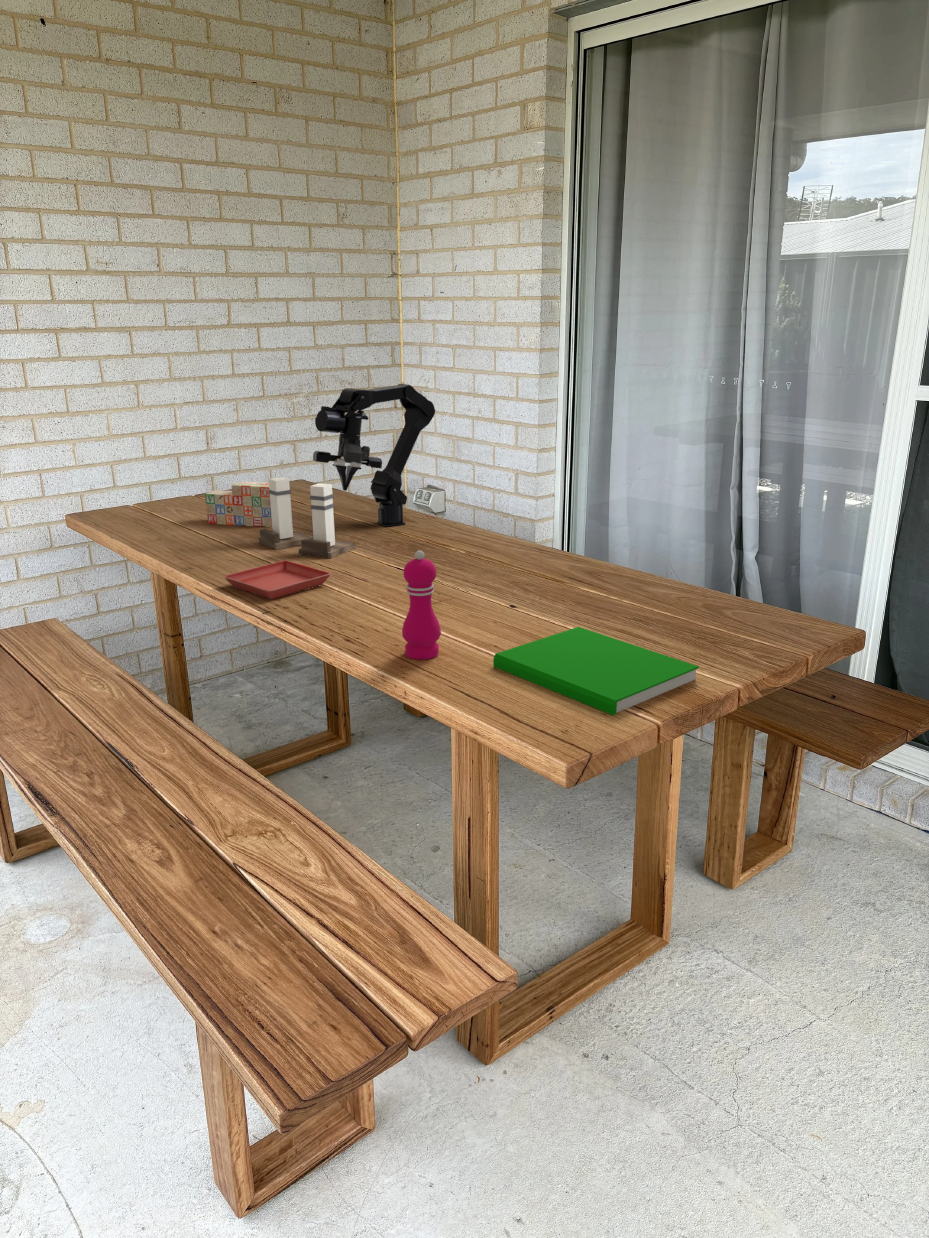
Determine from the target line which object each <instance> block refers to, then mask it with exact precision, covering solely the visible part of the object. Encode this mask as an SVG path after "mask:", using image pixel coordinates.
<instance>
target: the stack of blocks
mask: <svg viewBox="0 0 929 1238" xmlns="http://www.w3.org/2000/svg"><path fill="white" fill-rule="evenodd" d="M204 496H205V497H204V498H205V505H206V514H207V523H208V524H212V525H215V524H216V525H227V526H241V525H246V526H245V527H259V526H266V527H265V528H272V517H271V504H270V494H269V481H268V482H267V481H239V482H236V483H234V484H232V485H231V490H219V489H215V490H211V491H209V492H206V493H204Z"/></svg>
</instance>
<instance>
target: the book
mask: <svg viewBox="0 0 929 1238" xmlns="http://www.w3.org/2000/svg"><path fill="white" fill-rule="evenodd" d="M492 659H493V660H492V661H493V665H492V666H493V667H494V668H496V669H498V670H500V671H503V672H505V673H508V674H510V675H513V676H515V677H518V678H521V679H523V680H526V681H527V682H529V683H533V684H535V685H538V686H540V687H542V688H545V689H547V690H550V691H551V692H555V693H557V694H559V695H562V696H564V697H567V698H569V699H572V700H575V701H577V702H579V703H581V704H584V705H586V706H588V707H591V708H594V709H597V710H598V711H601V712H603V713H606V714H608V715H611V716H616V715H617V713H620V712H622V711H624V710H626V709H629V708H631V707H634V706H636V705H639V704H641V703H643V702H645V701H648V700H650V699H652V698H656V697H657V696H659V695H662V694H664V693H666V692H669V691H672V690H674V689H676V688H679V687H681V686H684V685H686V684H687V683H691V682H692V681H695V680H696V677H697V676H696V674H697V670H698V669H700V666H699V665H696V664H693V663H691V662H690V663H689V662H688V661H684V660H680V659H678V658H674V657H672V656H668V655H666V654H662V653H659V652H656V651H653V650H651V649H648V648H645V647H641V646H639V645H636V644H635V645H634V644H632V643H629V642H626V641H623V640H620V639H617V638H614V637H611V636H609V635H605V634H602V633H599V632H597V631H596V632H595V631H594V630H589V629H587V628H583V627H581V626H577V627H573V628H570V629H567V630H565V631H561V632H558V633H554V634H552V635H548V636H545V637H542V638H539V639H537V640H533V641H531V642H530V641H529V642H527V643H525V644H522V645H518V646H515V647H512V648H509V649H506V650H503V651H500V652H497V653H495V655H494V656H493V658H492Z"/></svg>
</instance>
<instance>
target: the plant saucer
mask: <svg viewBox="0 0 929 1238" xmlns="http://www.w3.org/2000/svg"><path fill="white" fill-rule="evenodd" d="M331 575H332V574H331V572H329V571H326V570H322V569H318V568H315V567H311V566H307V565H304V564H300V563H297V562H293V561H291V560H290V561H289V560H280V561H277V562H273V563H268V564H265V565H261V566H256V567H253V568H250V569H249V568H248V569H245V570H243V571H238V572H234V573H230V574H226V575H224V576H223V578H224V579H225V580H226V581H227V582H229V584H230V585H231V586H233V587H234V588H235V587H237V588H236V589H238V588H240V589H239V590H241V589H243V590H242V591H244V590H246V591H245V592H247V591H249V593H250V592H251V593H250V594H253V593H255V594H254V595H256V594H258V595H257V596H259V595H260V597H262V596H263V598H265V597H266V599H268V600H269V599H270V600H274V599H275V600H276V599H279V598H282V597H285V595H286V596H289V595H292V593H293V594H296V593H295V592H297V593H299V592H298V591H300V592H302V591H301V590H304V591H306V590H305V589H307V590H309V589H308V588H311V589H313V588H312V587H314V588H317V587H316V586H318V587H320V586H319V585H321V586H323V584H324V583H325V582H326V581H327V580H328V578H330V576H331ZM288 594H289V595H288ZM278 597H279V598H278Z"/></svg>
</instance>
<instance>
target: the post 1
mask: <svg viewBox="0 0 929 1238" xmlns="http://www.w3.org/2000/svg"><path fill="white" fill-rule="evenodd" d="M268 483H269V494H270V504H271V517H272V527H271V528H272V530H271V531H273V532H275V533H278V534H279V539H284V538H290V537H293V532H294V531H293V529H294V528H293V516H292V515H293V514H292V504H291V502H292V501H291V493H292V491H291V488H290V487H291V486H290V479H289V478H288V477H283V476H280V477H272V478H268Z"/></svg>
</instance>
